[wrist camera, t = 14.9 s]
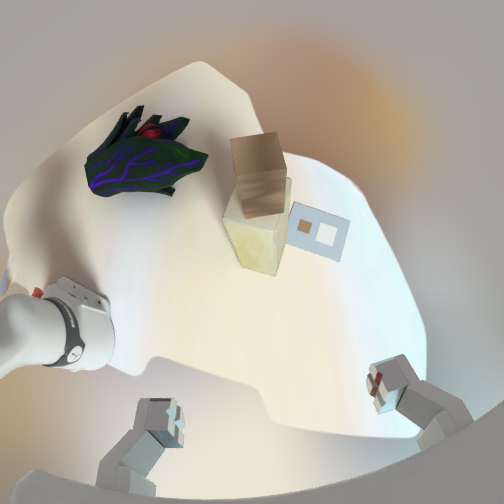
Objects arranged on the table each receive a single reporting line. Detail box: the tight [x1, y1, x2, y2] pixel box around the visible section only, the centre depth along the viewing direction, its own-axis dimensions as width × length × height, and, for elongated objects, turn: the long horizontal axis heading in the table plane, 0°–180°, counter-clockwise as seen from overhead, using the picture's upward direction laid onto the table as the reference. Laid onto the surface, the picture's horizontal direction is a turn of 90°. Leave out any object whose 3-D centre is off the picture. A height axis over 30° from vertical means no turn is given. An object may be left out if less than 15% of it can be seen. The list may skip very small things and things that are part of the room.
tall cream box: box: [222, 177, 292, 277], centre depth 43 cm, size 8×7×21 cm
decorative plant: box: [84, 105, 209, 197], centre depth 51 cm, size 21×26×30 cm
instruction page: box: [286, 202, 350, 262], centre depth 54 cm, size 12×9×1 cm
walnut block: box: [230, 132, 287, 219], centre depth 29 cm, size 4×4×9 cm
